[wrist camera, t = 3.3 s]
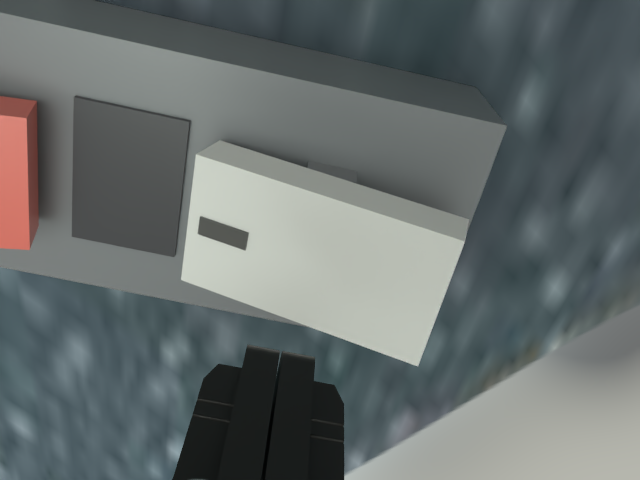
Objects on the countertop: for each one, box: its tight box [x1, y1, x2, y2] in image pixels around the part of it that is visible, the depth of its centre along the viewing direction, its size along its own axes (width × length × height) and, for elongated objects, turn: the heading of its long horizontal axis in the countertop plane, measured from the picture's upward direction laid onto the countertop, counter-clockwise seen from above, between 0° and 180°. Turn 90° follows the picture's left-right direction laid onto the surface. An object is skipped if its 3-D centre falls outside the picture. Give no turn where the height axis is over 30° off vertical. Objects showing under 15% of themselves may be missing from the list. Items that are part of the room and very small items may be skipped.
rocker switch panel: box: [0, 0, 507, 328], centre depth 21 cm, size 23×9×6 cm, turn 78°
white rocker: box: [181, 140, 469, 366], centre depth 18 cm, size 8×4×2 cm, turn 77°
